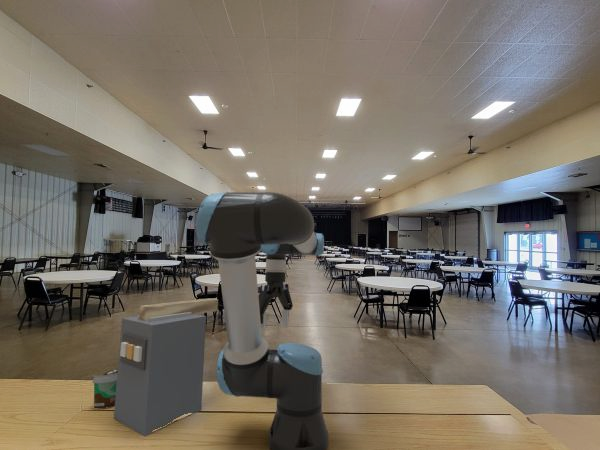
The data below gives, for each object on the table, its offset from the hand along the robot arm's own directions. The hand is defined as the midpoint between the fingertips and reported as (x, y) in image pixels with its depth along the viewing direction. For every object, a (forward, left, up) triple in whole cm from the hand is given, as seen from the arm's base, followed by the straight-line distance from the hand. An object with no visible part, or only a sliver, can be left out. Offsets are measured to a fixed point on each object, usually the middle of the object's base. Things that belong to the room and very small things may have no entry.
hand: (273, 330), depth 114 cm
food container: (+34, +38, -21) cm, 55 cm away
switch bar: (+16, +28, +7) cm, 33 cm away
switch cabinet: (+16, +34, -21) cm, 43 cm away
